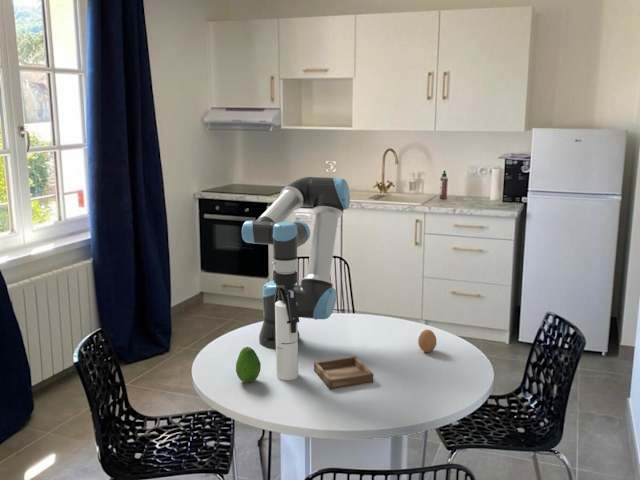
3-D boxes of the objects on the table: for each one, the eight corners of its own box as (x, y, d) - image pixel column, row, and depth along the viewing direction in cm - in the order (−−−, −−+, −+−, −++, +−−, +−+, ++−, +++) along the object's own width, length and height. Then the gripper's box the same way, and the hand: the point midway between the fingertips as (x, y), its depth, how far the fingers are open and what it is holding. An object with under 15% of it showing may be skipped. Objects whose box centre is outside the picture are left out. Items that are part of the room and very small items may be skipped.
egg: (414, 350, 234) (414, 329, 232) (426, 346, 237) (427, 325, 236) (427, 356, 229) (428, 334, 227) (439, 352, 232) (440, 330, 230)
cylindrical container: (295, 381, 210) (294, 307, 204) (273, 379, 211) (272, 306, 205) (300, 371, 217) (299, 300, 211) (279, 370, 218) (278, 299, 212)
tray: (314, 370, 217) (313, 362, 217) (355, 364, 222) (355, 356, 222) (329, 389, 204) (329, 380, 203) (373, 382, 209) (373, 373, 208)
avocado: (237, 388, 205) (235, 352, 202) (235, 377, 213) (234, 343, 210) (262, 385, 207) (261, 350, 204) (259, 375, 214) (258, 341, 211)
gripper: (263, 262, 216) (265, 323, 221) (285, 282, 193) (286, 349, 198) (285, 260, 218) (286, 320, 223) (309, 280, 195) (309, 346, 200)
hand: (286, 334), depth 210 cm, fingers open, 13 cm apart
